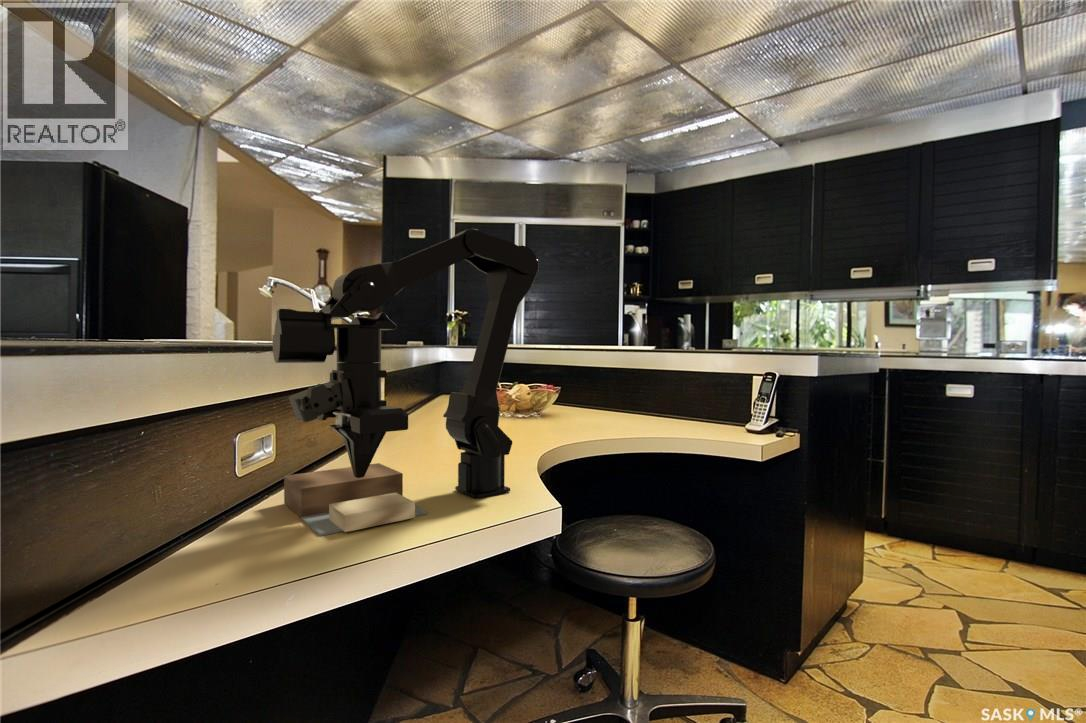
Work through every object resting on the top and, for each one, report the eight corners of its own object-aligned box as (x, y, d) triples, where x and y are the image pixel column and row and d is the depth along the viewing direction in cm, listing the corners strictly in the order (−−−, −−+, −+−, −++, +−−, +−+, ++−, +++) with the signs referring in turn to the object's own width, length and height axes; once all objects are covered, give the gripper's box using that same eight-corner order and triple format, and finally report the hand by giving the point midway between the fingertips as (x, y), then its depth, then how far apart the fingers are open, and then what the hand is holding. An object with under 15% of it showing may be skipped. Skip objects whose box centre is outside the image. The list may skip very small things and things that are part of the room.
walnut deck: (378, 487, 85) (378, 463, 84) (402, 500, 78) (402, 473, 77) (284, 503, 76) (284, 475, 76) (301, 519, 69) (301, 488, 69)
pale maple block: (414, 502, 69) (414, 517, 69) (395, 492, 73) (395, 506, 73) (345, 515, 63) (345, 532, 63) (329, 504, 68) (329, 519, 68)
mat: (402, 500, 78) (402, 498, 78) (427, 513, 71) (427, 511, 71) (301, 519, 69) (301, 516, 69) (319, 536, 62) (319, 533, 62)
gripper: (277, 361, 74) (278, 473, 74) (317, 365, 59) (317, 503, 59) (357, 361, 81) (357, 462, 81) (410, 364, 66) (410, 487, 66)
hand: (359, 477), depth 72 cm, fingers closed
